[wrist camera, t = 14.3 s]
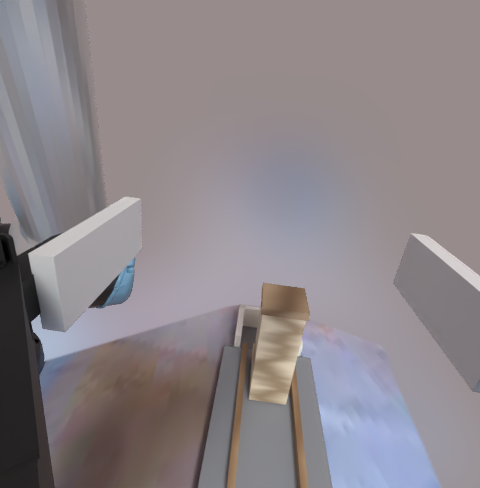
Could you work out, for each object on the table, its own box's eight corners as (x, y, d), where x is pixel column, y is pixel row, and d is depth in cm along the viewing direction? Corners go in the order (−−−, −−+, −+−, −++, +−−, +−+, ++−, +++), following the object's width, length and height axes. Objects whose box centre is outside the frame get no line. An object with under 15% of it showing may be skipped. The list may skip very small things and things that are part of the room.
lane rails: (225, 497, 30) (226, 490, 30) (242, 348, 49) (242, 342, 49) (307, 511, 30) (310, 504, 29) (292, 355, 49) (293, 349, 49)
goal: (232, 357, 51) (234, 336, 49) (237, 323, 59) (239, 304, 57) (298, 367, 50) (303, 346, 49) (293, 331, 59) (298, 312, 57)
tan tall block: (246, 400, 40) (262, 307, 34) (250, 355, 48) (263, 272, 42) (287, 406, 40) (309, 313, 34) (284, 360, 48) (302, 277, 42)
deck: (183, 574, 27) (183, 560, 26) (223, 357, 51) (224, 345, 50) (342, 601, 26) (349, 588, 25) (307, 369, 50) (310, 358, 49)
